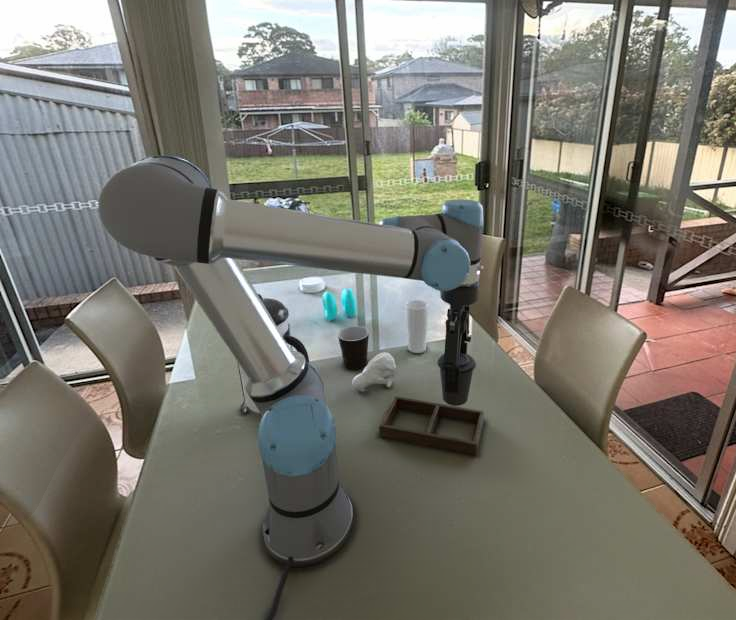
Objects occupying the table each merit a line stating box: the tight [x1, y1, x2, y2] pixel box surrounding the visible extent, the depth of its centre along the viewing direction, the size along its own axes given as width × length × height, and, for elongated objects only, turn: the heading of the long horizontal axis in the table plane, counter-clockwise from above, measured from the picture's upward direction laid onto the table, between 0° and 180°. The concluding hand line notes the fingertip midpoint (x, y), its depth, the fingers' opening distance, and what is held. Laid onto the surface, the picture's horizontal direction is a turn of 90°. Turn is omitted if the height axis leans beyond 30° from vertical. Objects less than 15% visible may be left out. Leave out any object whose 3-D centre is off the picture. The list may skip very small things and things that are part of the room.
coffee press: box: [236, 293, 310, 414], centre depth 103 cm, size 17×16×30 cm
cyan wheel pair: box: [322, 288, 357, 321], centre depth 152 cm, size 10×10×10 cm
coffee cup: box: [436, 352, 477, 407], centre depth 94 cm, size 8×8×10 cm
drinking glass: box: [404, 299, 429, 354], centre depth 131 cm, size 7×7×15 cm
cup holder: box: [379, 395, 485, 457], centre depth 100 cm, size 11×22×3 cm, turn 74°
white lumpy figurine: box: [351, 351, 397, 393], centre depth 115 cm, size 6×8×12 cm
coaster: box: [298, 276, 326, 294], centre depth 178 cm, size 10×10×4 cm
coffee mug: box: [337, 325, 370, 371], centre depth 126 cm, size 12×9×10 cm
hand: (455, 379), depth 94 cm, fingers closed on coffee cup, 8 cm apart
